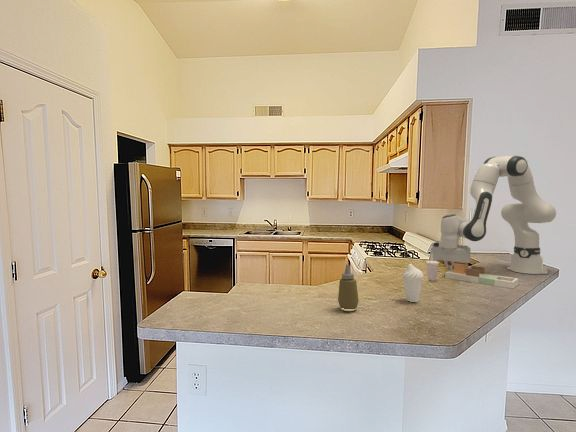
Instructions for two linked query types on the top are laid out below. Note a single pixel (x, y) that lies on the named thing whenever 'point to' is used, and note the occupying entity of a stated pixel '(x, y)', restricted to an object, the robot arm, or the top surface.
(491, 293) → the top surface
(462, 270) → the block
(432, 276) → the smoothie
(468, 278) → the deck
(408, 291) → the soft serve ice cream cone
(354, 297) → the squeeze bottle
